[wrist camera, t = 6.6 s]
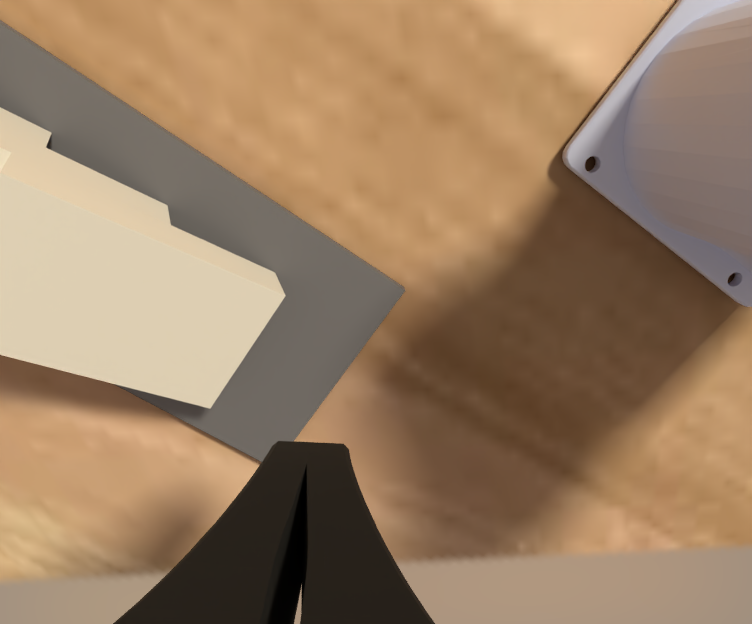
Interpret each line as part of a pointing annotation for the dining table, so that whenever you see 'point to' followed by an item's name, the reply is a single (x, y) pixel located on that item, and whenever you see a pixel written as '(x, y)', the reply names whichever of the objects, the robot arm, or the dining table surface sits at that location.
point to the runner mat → (226, 230)
